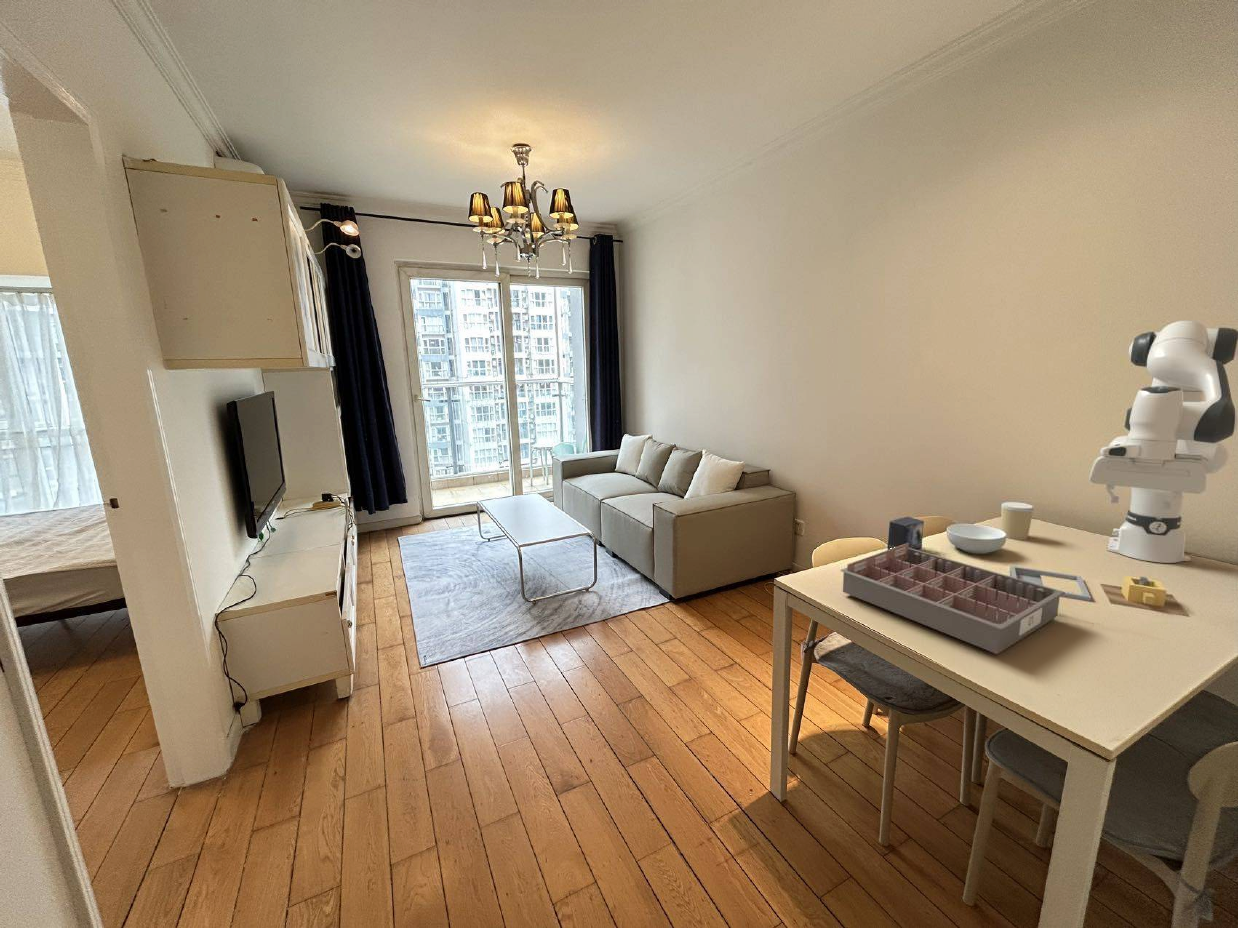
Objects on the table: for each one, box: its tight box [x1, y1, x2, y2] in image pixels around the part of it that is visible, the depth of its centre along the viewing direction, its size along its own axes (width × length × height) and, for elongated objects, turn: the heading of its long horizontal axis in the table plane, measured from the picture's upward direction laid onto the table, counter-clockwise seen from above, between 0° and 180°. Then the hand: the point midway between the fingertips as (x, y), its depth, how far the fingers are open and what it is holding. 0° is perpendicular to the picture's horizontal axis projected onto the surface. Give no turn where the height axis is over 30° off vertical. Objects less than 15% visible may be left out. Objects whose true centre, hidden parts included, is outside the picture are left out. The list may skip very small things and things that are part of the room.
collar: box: [1121, 575, 1167, 607], centre depth 129 cm, size 10×7×4 cm
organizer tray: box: [839, 543, 1066, 655], centre depth 133 cm, size 32×40×10 cm
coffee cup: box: [1000, 501, 1035, 541], centre depth 183 cm, size 9×9×12 cm
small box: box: [886, 516, 925, 551], centre depth 175 cm, size 11×6×10 cm, turn 117°
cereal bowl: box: [946, 523, 1007, 555], centre depth 172 cm, size 17×17×7 cm
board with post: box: [1099, 576, 1191, 618], centre depth 130 cm, size 14×14×7 cm
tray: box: [1009, 565, 1092, 602], centre depth 142 cm, size 16×16×2 cm
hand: (1139, 505), depth 126 cm, fingers open, 8 cm apart
